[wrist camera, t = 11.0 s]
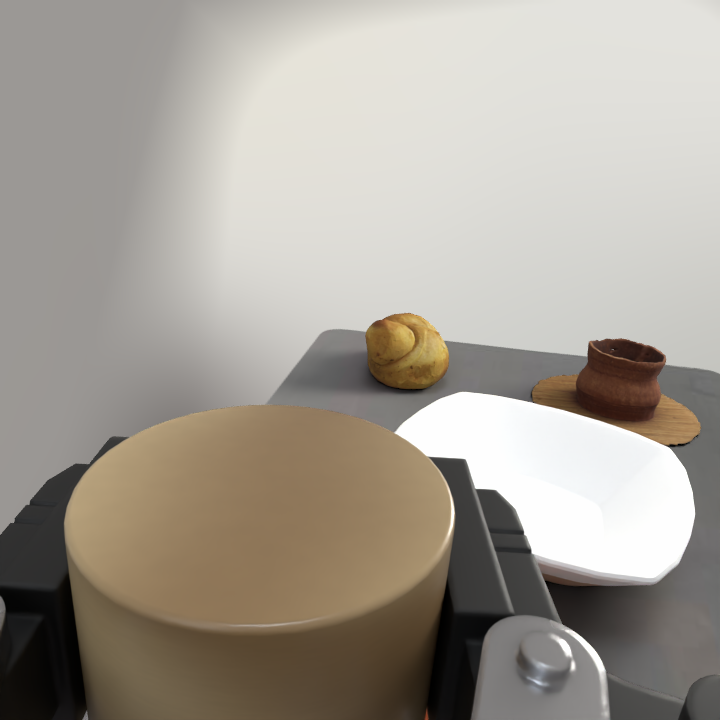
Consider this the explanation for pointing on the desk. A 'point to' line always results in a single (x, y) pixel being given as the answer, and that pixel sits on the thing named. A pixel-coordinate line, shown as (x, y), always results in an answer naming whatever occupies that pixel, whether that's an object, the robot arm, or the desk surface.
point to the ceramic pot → (621, 392)
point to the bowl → (569, 485)
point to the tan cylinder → (259, 569)
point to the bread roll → (406, 352)
